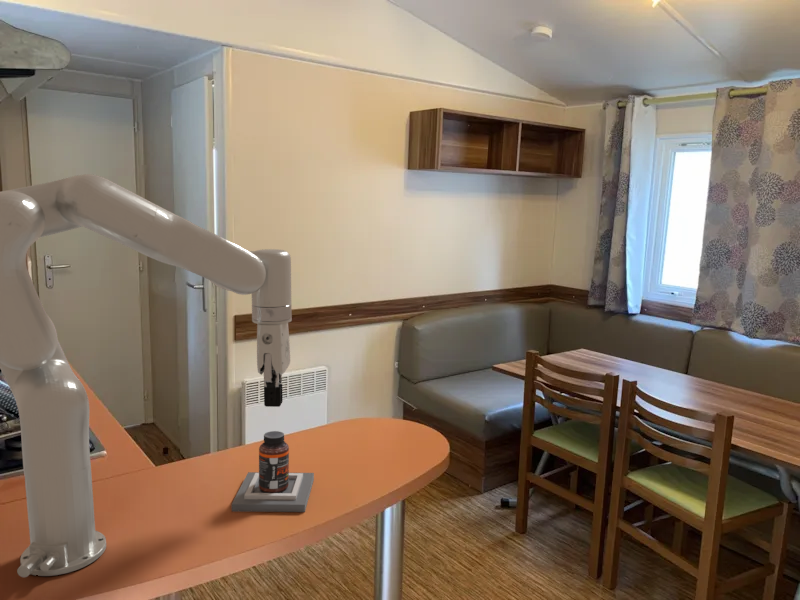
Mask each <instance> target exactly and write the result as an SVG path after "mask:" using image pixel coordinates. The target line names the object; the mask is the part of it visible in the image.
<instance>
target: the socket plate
mask: <svg viewBox="0 0 800 600" xmlns="http://www.w3.org/2000/svg"><path fill="white" fill-rule="evenodd" d="M314 480H315V473H314V472H289V482H288V487H287V488H286V489H285V490H283V491H281V492H277V493H268V492H264V491H262V490H261V489H260V488H259V471H258V472H257V471H255V472H249V471H248V472H247V474H246V476H245V478H244V479H243V481H242V483H241V485H240V487H239V489H238V491H237V492H236V495H235V497H234V498H233V500H232V503H231V512H242V513H243V512H251V513H253V512H257V513H258V512H259V513H260V512H262V513H264V512H267V513H268V512H270V513H275V512H276V513H277V512H278V513H280V512H281V513H305V512H306V510H307V505H308V503H309V502H308V501H309V499H310V495H311V491H312V487H313V484H314Z"/></svg>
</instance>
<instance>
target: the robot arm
mask: <svg viewBox="0 0 800 600" xmlns="http://www.w3.org/2000/svg"><path fill="white" fill-rule="evenodd" d="M81 227H84V228H86V229H87V230H89V231H93V232H94V233H96V234H98V235H101V236H103V237H105V238H107V239H110V240H111V241H114V242H116V243H118V244H121V245H122V246H124V247H126V248H129V249H131V250H133V251H135V252H137V253H139V254H142V255H143V256H146V257H148V258H151V259H153V260H156V262H157V261H158V262H160V263H163V264H166V265H169V266H173V267H177V268H180V269H183V270H186V271H188V272H190V273H193V274H195V275H197V276H200V277H202V278H204V279H207V280H208V281H210V282H211V284H213V285H214V286H216V287H217V288H220V289H222V290H226V291H229V292H232V293H234V294H237V295H242V296H244V295H245V296H246V295H251V322H252V323H254V324H257V325H256V327H257V328H256V365H257V373H258V374H259V375H263V405H264V407H265V408H266V407H267V408H268V407H269V408H270V407H271V408H273V407H274V408H275V407H277V408H280V407H281V405H282V403H283V400H284V399H283V383H282V382H283V375H284V374H285V372H286V371H287V369H288V368H289V366H290V364H291V349H290V347H291V346H290V332H289V331H290V330H289V329H290V328H289V323H291V322H292V321H293V320H292V317H293V314H292V310H293V308H292V257H291V255H290V253H289V252H288V251H287V250H284V249H275V248H273V249H272V248H270V249H269V248H268V249H257V250H247V249H245V248H243V247H241V246H240V245H238V244H236V243H234V242H232V241H230V240H228V239H226V238H224V237H222V236H220V235H218V234H215V233H214V232H212V231H210V230H207V229H205V228H203V227H201V226H199V225H197V224H195V223H193V222H191V221H190V220H188V219H186V218H184V217H182V216H180V215H177V214H175V213H173V212H172V211H170V210H167V209H165V208H163V206H162V207H161V206H160V205H158V204H156V203H154V202H152V201H149V200H148V199H146V198H144V197H142V196H141V195H139V194H136V193H135V192H133V191H131V190H129V189H127V188H126V187H123V186H122V185H119V184H118V183H116V182H114V181H112V180H110V179H108V178H106V177H103V176H101V175H97V174H93V173H85V174H78V175H74V176H69V177H65V178H61V179H58V180H53V181H52V180H51V181H49V182H48V181H47V182H44V183H38V184H33V185H28V186H23V187H17V188H13V189H8V190H2V191H0V370H1V374H2V375H3V377H4V379H5V380H6V382H7V385H8V387H9V389H10V390H11V393H12V395H13V397H14V399H15V403H16V407H17V410H18V416H19V423H20V437H21V441H20V442H21V454H22V468H23V474H24V475H23V476H24V482H25V483H24V484H25V487H24V488H25V497H26V507H27V508H26V509H27V520H28V530H29V543H30V544H29V545H28V547H26V548H25V550H24V551H23V552H22V553H21V556H20V558H19V559H20V560H19V561H20V566H19V567H18V568H17V570H16V571H17V575H18V576H19V577H21V578H27V577H29V576H30V575H32V576H36V575H38V576H39V577H52V576H58V575H59V576H60V575H64V574H69V573H72V572H74V571H77V570H80V569H82V568H85V567H86V566H88V565H90V564H92V563H93V562H95V561H97V560H98V559H99V558H100V557H101V556H102V555H103V554H104V552H105V550H106V549H107V540H106V539H107V537H106V536H105V535H104V534H103V533H102V532H100V531H98V530H96V521H95V508H94V506H95V505H94V493H93V490H94V489H93V479H92V466H91V465H92V464H91V463H92V461H91V454H90V453H91V452H90V451H91V450H90V400H89V397H88V393H87V391H86V388H85V387H84V384H83V383H82V381H81V380H80V379H79V378H78V377H77V375H76V374H75V373H74V370H73V369H72V368H71V365H70V363H69V361H68V359H67V356H66V354H65V352H64V350H63V348H62V346H61V343H60V341H59V339H58V332H57V329H56V327H55V324H54V322H53V320H52V319H51V317H50V316H49V315H48V314H47V312H46V310H45V308H44V305H43V303H42V301H41V299H40V297H39V295H38V293H37V290H36V288H35V285H34V283H33V280H32V278H31V275H30V272H29V270H28V267H27V255H28V251H29V249H30V247H31V246H32V245H34V243H35V242H36V241H38V240H39V239H41V238H43V237H47V236H52V235H56V234H60V233H63V232H68V231H71V230H75V229H79V228H81ZM38 576H37V577H38Z"/></svg>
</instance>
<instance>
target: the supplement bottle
mask: <svg viewBox="0 0 800 600" xmlns="http://www.w3.org/2000/svg"><path fill="white" fill-rule="evenodd" d="M289 447H290V446H289V444H288V443H287V442H286V441H285V433H284V432H282V431H279V430H272V431H267V432H265V433H264V434H263V442H262V443H261V444H260V445H259V448H258V472H259V488H260V489H261V490H262V491H264V492H268V493H277V492H281V491H283V490H285V489H286V488H287V487H288V482H289V473H290V468H289V467H290V466H289V465H290V464H289V463H290V448H289Z"/></svg>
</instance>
